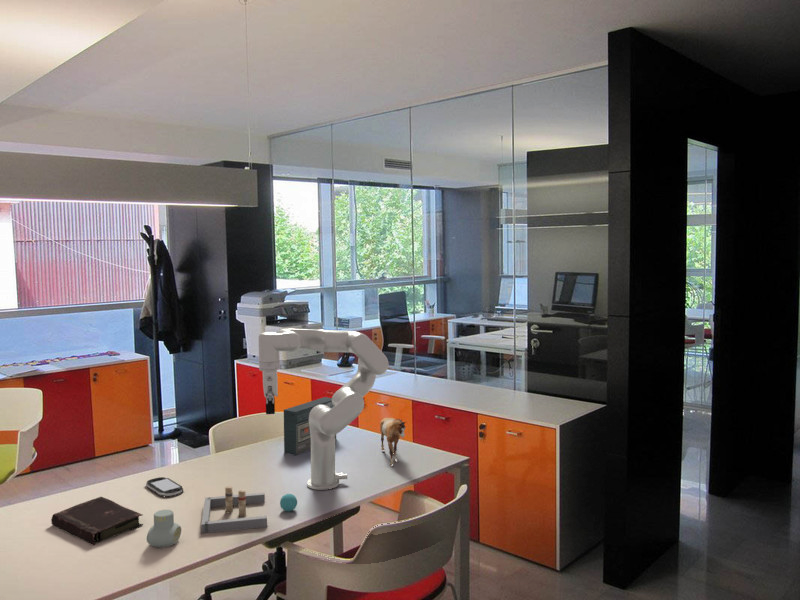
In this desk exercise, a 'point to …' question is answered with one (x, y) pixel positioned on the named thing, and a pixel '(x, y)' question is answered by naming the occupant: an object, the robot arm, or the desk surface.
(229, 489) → the back pin
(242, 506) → the front pin
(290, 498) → the ball
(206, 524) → the pin pen
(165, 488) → the gaming console
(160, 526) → the air freshener
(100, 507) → the diary
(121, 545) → the desk surface
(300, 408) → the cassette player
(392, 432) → the horse figurine
